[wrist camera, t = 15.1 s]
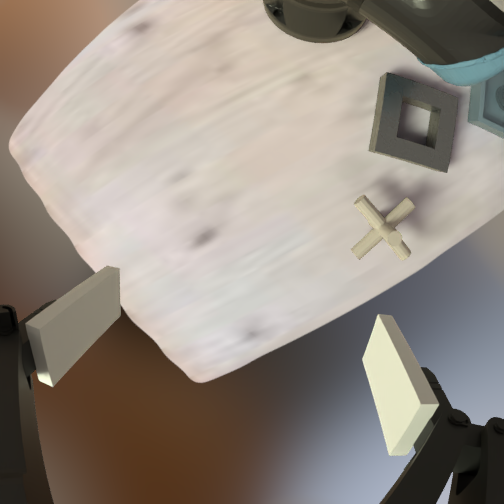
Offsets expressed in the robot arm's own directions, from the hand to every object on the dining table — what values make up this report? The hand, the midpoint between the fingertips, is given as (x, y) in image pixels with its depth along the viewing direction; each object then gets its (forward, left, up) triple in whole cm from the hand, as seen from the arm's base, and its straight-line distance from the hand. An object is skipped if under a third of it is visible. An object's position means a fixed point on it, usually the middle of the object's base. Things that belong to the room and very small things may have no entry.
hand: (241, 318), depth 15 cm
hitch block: (-16, +17, -31) cm, 39 cm away
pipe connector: (-1, +14, -31) cm, 35 cm away
